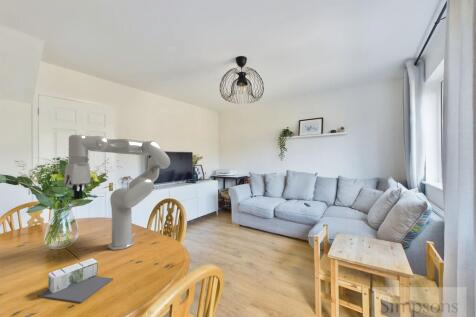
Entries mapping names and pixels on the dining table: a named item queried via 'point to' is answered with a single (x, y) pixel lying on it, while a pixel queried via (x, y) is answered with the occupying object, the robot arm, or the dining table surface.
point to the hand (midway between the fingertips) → (78, 198)
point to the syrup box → (72, 275)
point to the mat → (78, 290)
